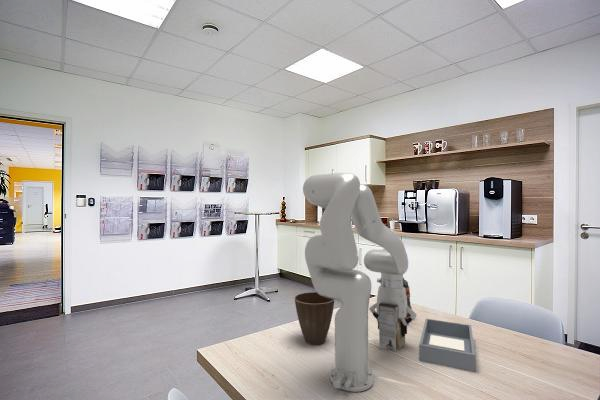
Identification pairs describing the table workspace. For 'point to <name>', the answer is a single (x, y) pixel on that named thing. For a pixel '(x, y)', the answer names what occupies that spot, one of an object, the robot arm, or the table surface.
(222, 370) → the table surface
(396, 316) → the coffee box
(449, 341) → the cream rectangular block
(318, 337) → the plant pot
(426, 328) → the tote
